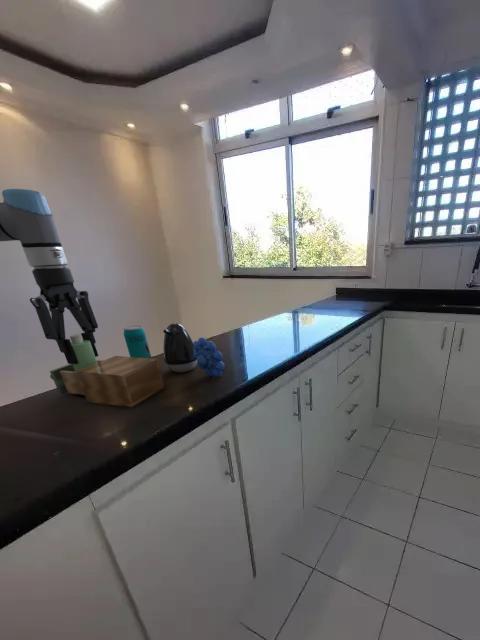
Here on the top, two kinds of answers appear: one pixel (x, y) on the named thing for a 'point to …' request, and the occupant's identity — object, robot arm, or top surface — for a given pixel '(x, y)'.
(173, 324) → the pump dispenser
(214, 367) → the grapes
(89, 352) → the soap bottle
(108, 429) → the top surface
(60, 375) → the drawer
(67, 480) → the top surface
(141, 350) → the beverage can
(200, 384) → the top surface
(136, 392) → the cabinet
